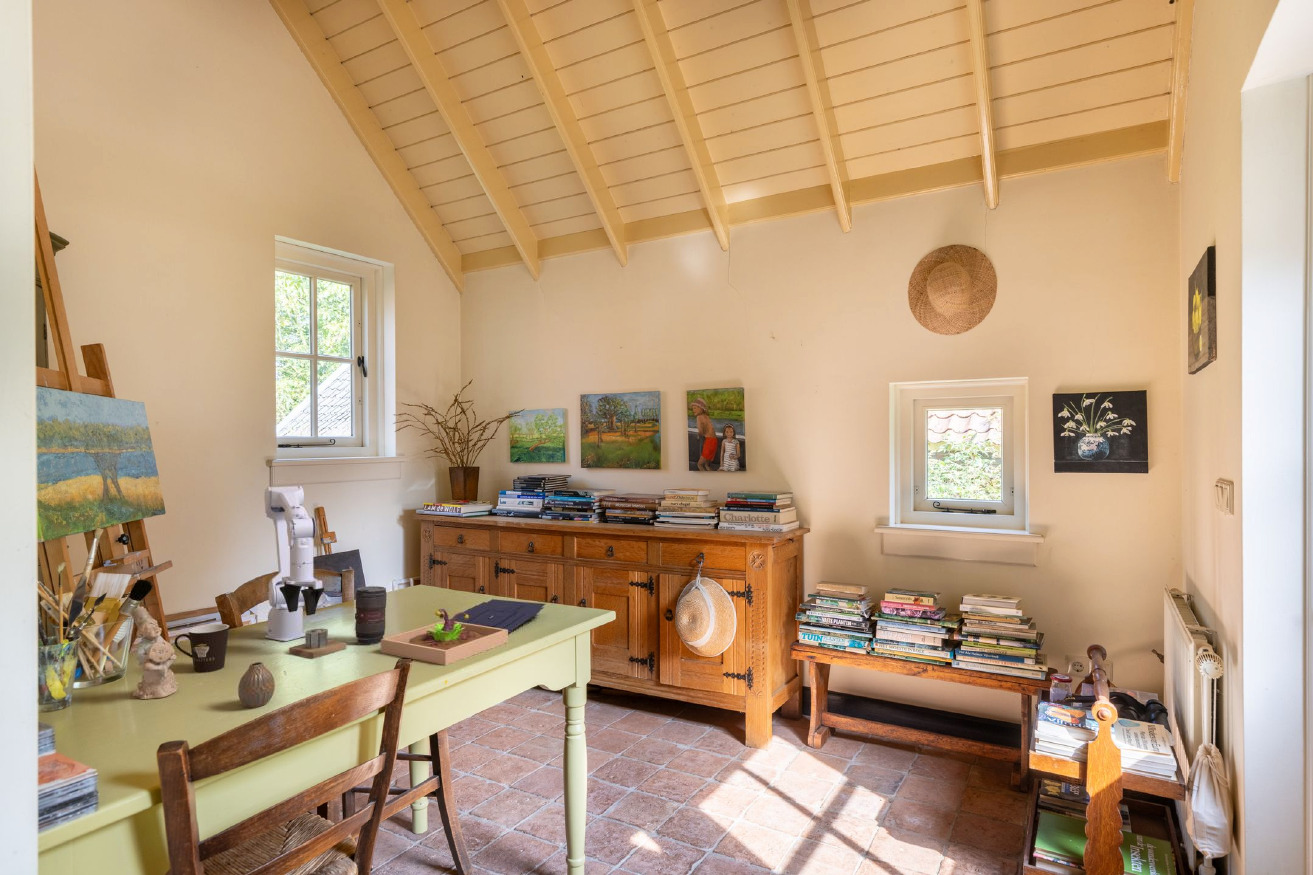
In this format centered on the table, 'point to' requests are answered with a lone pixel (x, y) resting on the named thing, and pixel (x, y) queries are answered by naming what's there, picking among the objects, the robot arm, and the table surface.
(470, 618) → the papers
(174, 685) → the figurine
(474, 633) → the plant
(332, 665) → the table surface
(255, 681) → the vase
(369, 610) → the camera lens
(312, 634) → the ring
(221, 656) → the coffee mug
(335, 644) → the shaft stand
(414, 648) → the tan flat square tray
